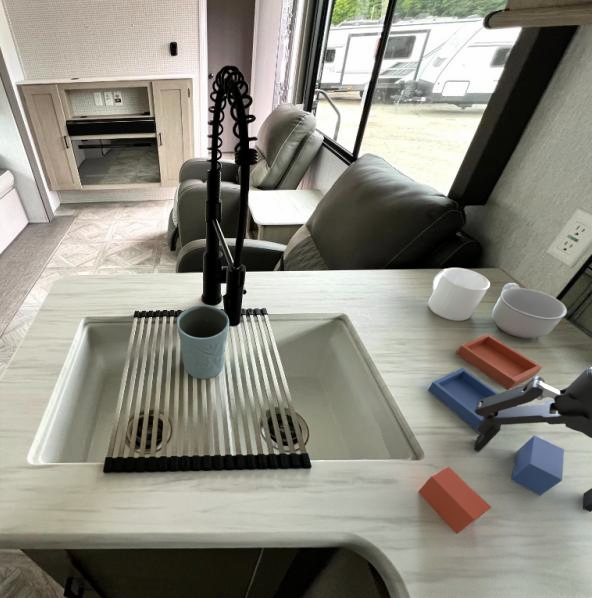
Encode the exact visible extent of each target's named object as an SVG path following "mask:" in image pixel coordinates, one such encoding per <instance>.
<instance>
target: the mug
mask: <svg viewBox="0 0 592 598" xmlns="http://www.w3.org/2000/svg"><path fill="white" fill-rule="evenodd" d="M490 286H491V282H490V280H489V279H488V278H487V277H486V276H484V275H483V274H481V273H479V272H476V271H474V270H472V269H471V270H470V269H468V268H462V267H448V268H443V269H441V270H439V272H438V273H436V275H435V276H434V278H433V281H432V294H431V296H430V297H429V300H428V302H427V305H428V308H429V309H430V310H431V311H432V312H433V313H434V314H435V315H437V316H439V317H441V318H443V319H446V320H450V321H456V322H462V321H463V322H464V321H467V320H469V319H470V318H472V315H473V313H474V312H475V310H476V309H477V307H478V306H479V304H480V302H481V301H482V300H483V297H484V296H485V294H486V293H487V291H488V290H489V288H490Z"/></svg>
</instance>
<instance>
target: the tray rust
mask: <svg viewBox="0 0 592 598" xmlns="http://www.w3.org/2000/svg"><path fill="white" fill-rule="evenodd" d="M455 354H456V355H457V356H458V357H460V358H461V359H462V360H464V361H466V362H467V363H468V364H470V365H471V366H473V367H474V368H476V369H477V370H479V371H480V372H482V373H483V374H485V375H486V376H487V377H489V378H490V379H492V380H493V381H495V382H496V383H498V384H499V385H501V386H502V387H503V388H505V389H506V390H507V391H508V390H511V389H514V388H516V387H518V386H519V385H521V384H522V383H524V382H525V381H529V380H530V379H532V378H533V377H536V375H537V374H538V373H539V372H540V371H541V369H542V368H543V366H542V365H541V364H539V363H537V362H535V361H533V360H532V359H530V358H528V357H526V356H525V355H524V354H522V353H521V352H519V351H517V350H515V349H513V348H512V347H510V346H509V345H507V344H505V343H503V342H502V341H500V340H498V339H497V338H495V337H493V336H491V335H490V334H489V333H486V334H483V335H481V336H478V337H477V338H474V339H472V340H470V341H468V342H466V343H463V344H462V345H460V346H459V348H458V350H457V351H456V352H455Z"/></svg>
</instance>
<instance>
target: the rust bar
mask: <svg viewBox="0 0 592 598" xmlns="http://www.w3.org/2000/svg"><path fill="white" fill-rule="evenodd" d="M418 494H419V495H420V496H421V497H422V498H423V499H424V500H425V501H426V502H427V504H429V505H430V506H431V508H432V509H433V510H434V511H435V512H436V513H437V514H438V516H440V517H441V519H442V520H444V522H445V523H446V524H447V525H448V526H449V527H450V528H451V529H452V530H453V532H454V533H455V534H459V533H460V532H462V531H463V530H465V529H466V528H468V527H469V526H470V525H472V524H473V523H475V522H476V521H477V520H478V519H480V517H482V516H484V514H485V513H487V512H488V511H489V510H491V509H492V506H491V505H490V504H489V503H488V502H486V501H485V500H484V499H483V498H482V497H481V496H480V495H479V494H478V493H477V492H476V491H475V490H474V489H473V488H472V487H471V486H470V485H469V484H467V483H466V481H464V479H463V478H461V477H460V476H459V475H458V474H457V473H456V472H455V471H454V470H453V469H452V468H451V467H450V466H446V467H444V468H443V469H441V470H439V471H438V472H435V473H434V474H432V475H431V476H430V477H429V478H428V479H427V480H426V482H425V483H424V484H423V485H422V486H421V488H420V489H419V490H418Z"/></svg>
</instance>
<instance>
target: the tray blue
mask: <svg viewBox="0 0 592 598" xmlns="http://www.w3.org/2000/svg"><path fill="white" fill-rule="evenodd" d="M427 391H428V393H430V394H431V395H432V396H434V398H436V399H438V401H440V402H441V403H442V404H443V405H444V406H446V407H447V408H448V409H449V410H451V411H452V412H453V413H454V414H456V415H457V416H458V417H459V418H460V419H462V420H463V421H464V422H465V423H467V424H468V425H469V426H470V427H472V428H473V429H474V430H475V431H477V429H478V426H479V423H480V422H481V421H482V420H483V418H484V417H483V416H479V415H477V414H476V413H475V410H476V406H477V403H478V401H479V400H481V399H484V398H487V397H490V396H493V395H496V394H499V393H500V392H498V391H497V390H495V389H494V388H493V387H491V386H490V385H488V384H487V383H485V382H484V381H483V380H481V379H480V378H478V377H477V376H475V375H474V374H472V373H471V372H470V371H468V370H467V369H466V368H465V367H460V368H459V369H457V370H455V371H452V372H450V373H448V374H446V375H444V376H441V377H440V378H438V379H435V380H434V381H432V382H431V384H430V385H429V387H428V389H427ZM480 434H481V433H479V435H480Z"/></svg>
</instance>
